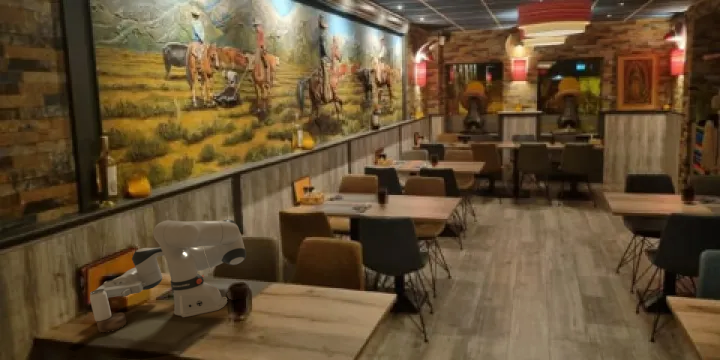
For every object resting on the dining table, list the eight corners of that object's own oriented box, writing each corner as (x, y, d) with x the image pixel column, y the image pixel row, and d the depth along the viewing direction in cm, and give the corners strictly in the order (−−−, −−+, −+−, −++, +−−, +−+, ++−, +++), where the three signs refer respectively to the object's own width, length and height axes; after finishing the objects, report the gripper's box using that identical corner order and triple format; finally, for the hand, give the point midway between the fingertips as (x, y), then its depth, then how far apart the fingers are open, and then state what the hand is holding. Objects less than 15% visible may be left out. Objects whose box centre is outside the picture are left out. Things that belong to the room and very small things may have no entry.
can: (104, 321, 235) (98, 293, 233) (91, 322, 237) (85, 294, 235) (115, 315, 241) (108, 288, 239) (102, 315, 243) (96, 289, 241)
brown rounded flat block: (131, 319, 244) (129, 311, 244) (120, 330, 233) (118, 321, 233) (105, 323, 245) (103, 314, 244) (93, 334, 234) (91, 325, 233)
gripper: (149, 288, 257) (137, 299, 243) (104, 295, 257) (90, 307, 243) (146, 275, 256) (134, 285, 242) (101, 282, 256) (86, 293, 242)
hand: (111, 296), depth 243 cm, fingers open, 8 cm apart
